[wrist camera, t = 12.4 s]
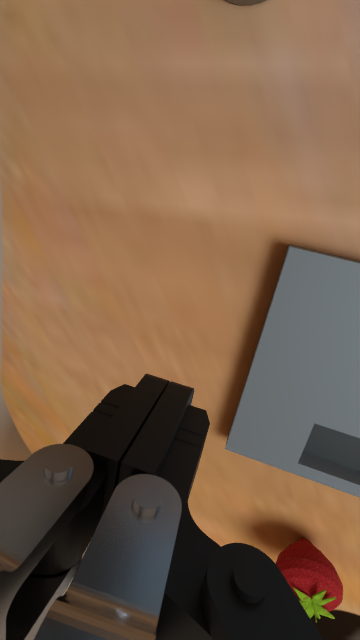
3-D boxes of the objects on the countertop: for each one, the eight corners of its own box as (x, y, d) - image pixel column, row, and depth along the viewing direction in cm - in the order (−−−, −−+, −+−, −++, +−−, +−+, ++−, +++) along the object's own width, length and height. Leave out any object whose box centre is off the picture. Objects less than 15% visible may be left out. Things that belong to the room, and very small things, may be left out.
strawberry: (281, 511, 44) (282, 591, 34) (342, 533, 42) (360, 623, 33) (268, 544, 46) (266, 627, 36) (326, 566, 44) (340, 659, 35)
